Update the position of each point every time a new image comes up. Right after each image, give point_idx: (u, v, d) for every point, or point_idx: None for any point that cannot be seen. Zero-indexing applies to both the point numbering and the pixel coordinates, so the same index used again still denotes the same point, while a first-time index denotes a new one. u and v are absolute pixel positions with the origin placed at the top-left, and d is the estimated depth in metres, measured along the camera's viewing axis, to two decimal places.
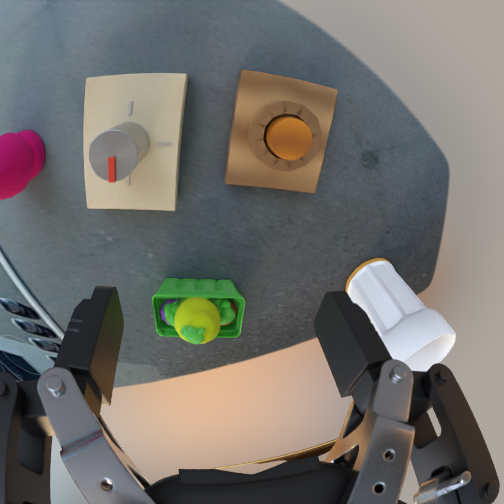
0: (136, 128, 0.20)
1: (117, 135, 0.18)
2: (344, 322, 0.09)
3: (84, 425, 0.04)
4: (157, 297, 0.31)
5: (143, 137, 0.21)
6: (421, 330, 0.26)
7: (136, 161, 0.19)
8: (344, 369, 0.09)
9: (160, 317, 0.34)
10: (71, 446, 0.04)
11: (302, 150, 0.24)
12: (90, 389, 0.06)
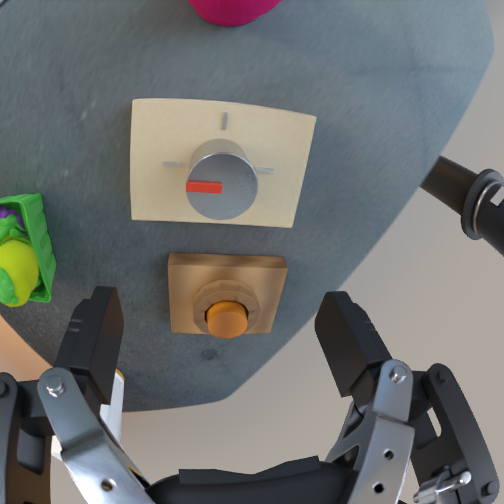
0: None
1: (249, 196, 0.17)
2: (344, 322, 0.09)
3: (84, 425, 0.04)
4: (21, 207, 0.17)
5: None
6: None
7: (211, 218, 0.17)
8: (344, 369, 0.09)
9: None
10: (71, 446, 0.04)
11: (218, 333, 0.27)
12: (90, 389, 0.06)
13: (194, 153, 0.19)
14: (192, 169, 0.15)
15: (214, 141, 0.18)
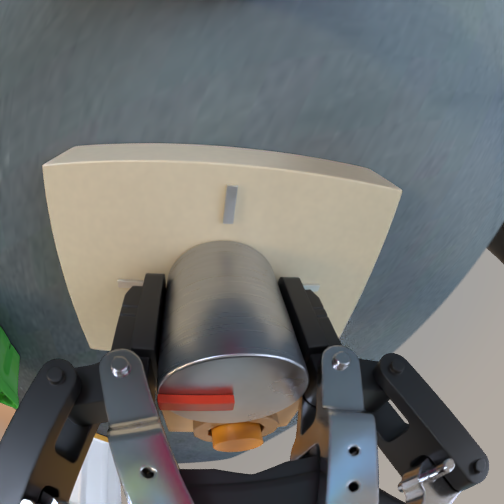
0: None
1: (287, 399, 0.08)
2: (291, 306, 0.09)
3: (141, 410, 0.05)
4: None
5: None
6: None
7: (215, 422, 0.08)
8: None
9: None
10: (121, 428, 0.04)
11: (226, 450, 0.18)
12: (150, 370, 0.07)
13: (171, 276, 0.09)
14: (165, 379, 0.06)
15: (210, 258, 0.09)
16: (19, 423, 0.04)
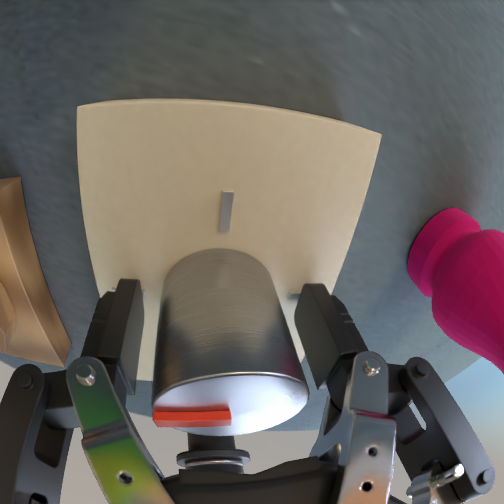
0: None
1: (288, 411, 0.07)
2: (319, 313, 0.09)
3: (110, 416, 0.05)
4: None
5: None
6: None
7: (217, 434, 0.08)
8: (319, 360, 0.09)
9: None
10: (94, 435, 0.04)
11: None
12: (118, 378, 0.06)
13: (164, 289, 0.09)
14: (157, 398, 0.06)
15: (201, 268, 0.09)
16: None
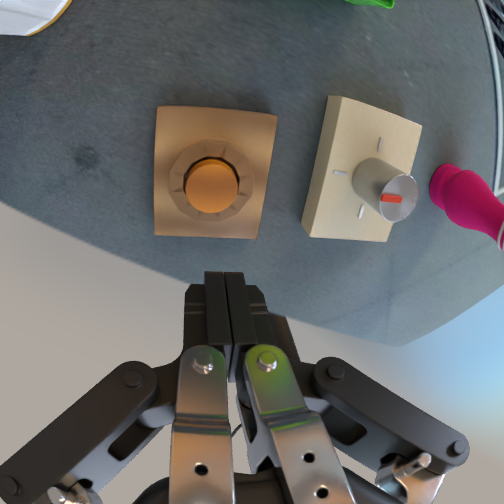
0: None
1: (412, 205, 0.21)
2: (227, 301, 0.09)
3: (213, 409, 0.05)
4: (386, 3, 0.13)
5: None
6: None
7: (389, 220, 0.21)
8: None
9: None
10: (189, 421, 0.05)
11: (196, 178, 0.20)
12: None
13: (361, 168, 0.23)
14: (386, 185, 0.19)
15: (376, 160, 0.22)
16: (75, 415, 0.04)
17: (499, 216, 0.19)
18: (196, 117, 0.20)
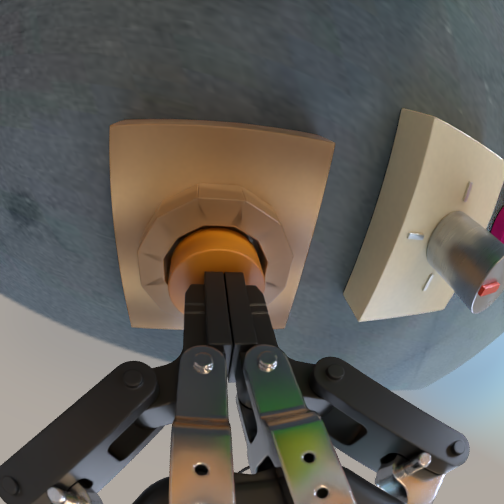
0: None
1: (503, 287, 0.11)
2: (227, 301, 0.09)
3: (212, 409, 0.05)
4: None
5: None
6: None
7: (475, 312, 0.12)
8: None
9: None
10: (188, 422, 0.05)
11: (187, 273, 0.10)
12: None
13: (445, 231, 0.13)
14: (490, 272, 0.10)
15: (465, 219, 0.13)
16: (75, 415, 0.04)
17: None
18: (183, 143, 0.10)
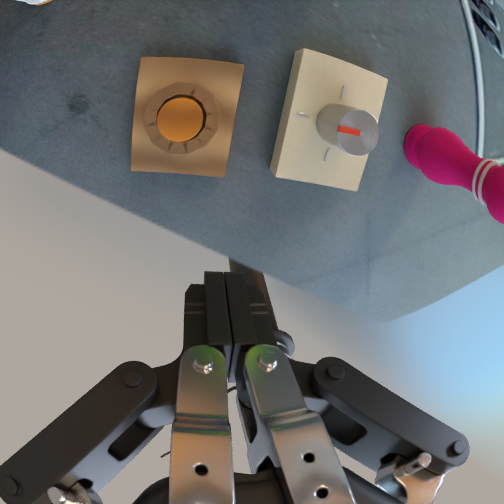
0: None
1: (373, 141, 0.21)
2: (227, 302, 0.09)
3: (213, 409, 0.05)
4: None
5: None
6: None
7: (349, 154, 0.22)
8: None
9: None
10: (188, 422, 0.05)
11: (167, 109, 0.20)
12: None
13: (323, 111, 0.23)
14: (342, 117, 0.20)
15: (338, 104, 0.23)
16: (75, 415, 0.04)
17: (473, 164, 0.20)
18: (173, 65, 0.20)
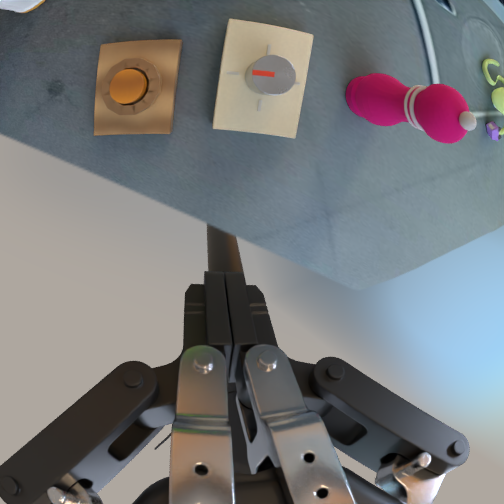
0: None
1: (290, 81, 0.23)
2: (227, 302, 0.09)
3: (213, 409, 0.05)
4: None
5: None
6: None
7: (267, 93, 0.23)
8: None
9: None
10: (189, 421, 0.05)
11: (116, 79, 0.22)
12: None
13: (249, 66, 0.25)
14: (256, 63, 0.21)
15: None
16: (75, 415, 0.04)
17: (404, 93, 0.21)
18: (124, 47, 0.22)
